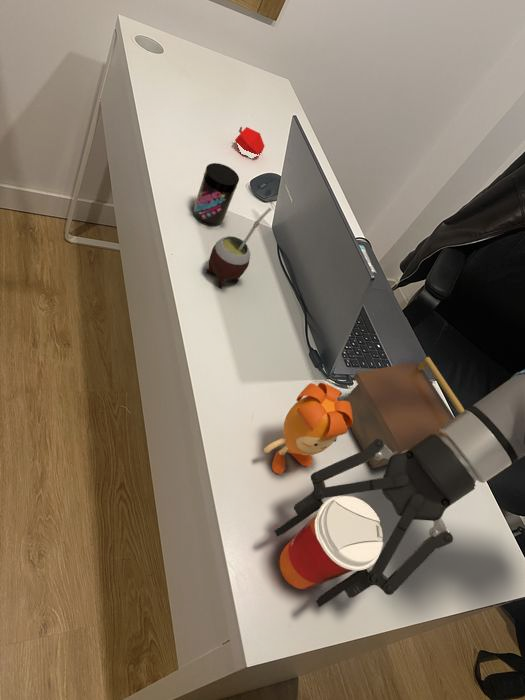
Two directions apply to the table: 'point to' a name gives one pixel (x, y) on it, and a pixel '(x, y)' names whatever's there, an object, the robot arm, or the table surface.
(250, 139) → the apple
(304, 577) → the coffee cup
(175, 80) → the table surface
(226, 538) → the table surface
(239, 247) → the mate gourd
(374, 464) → the box with handle
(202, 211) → the supplement container
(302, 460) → the toy figure
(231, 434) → the table surface
